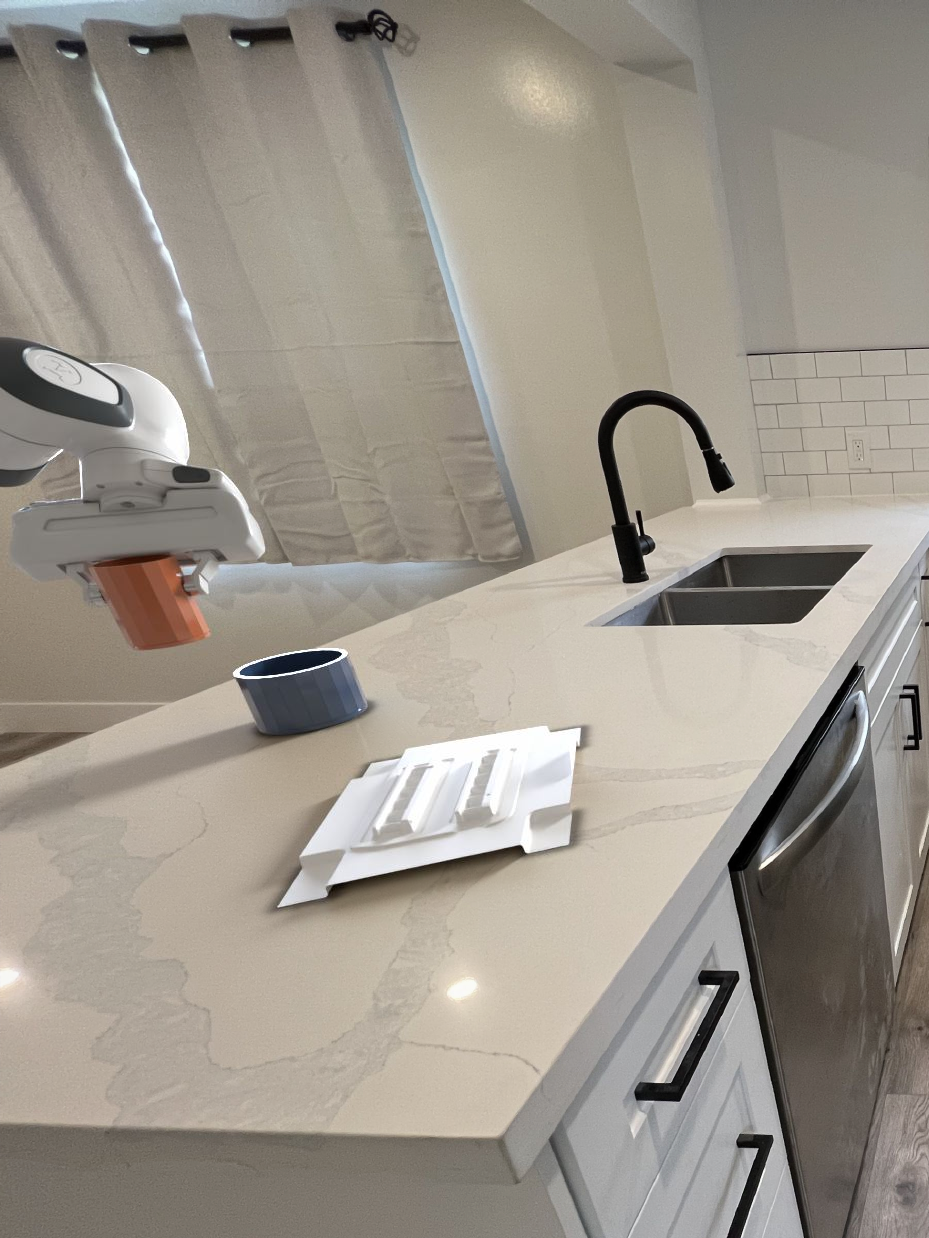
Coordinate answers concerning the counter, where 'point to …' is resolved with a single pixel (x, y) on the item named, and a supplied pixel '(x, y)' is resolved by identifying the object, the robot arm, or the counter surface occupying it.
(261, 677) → the stack cup
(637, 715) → the counter surface
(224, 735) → the counter surface
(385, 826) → the tray
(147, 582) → the terracotta cup
